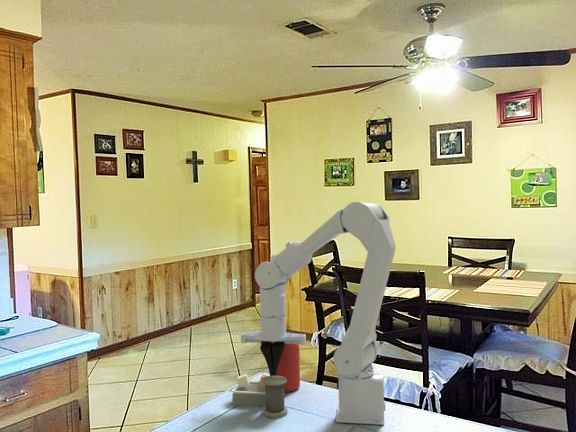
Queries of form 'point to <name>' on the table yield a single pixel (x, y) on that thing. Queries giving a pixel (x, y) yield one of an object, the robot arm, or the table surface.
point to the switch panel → (250, 395)
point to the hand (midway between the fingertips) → (273, 375)
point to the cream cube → (243, 380)
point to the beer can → (290, 367)
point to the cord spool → (274, 396)
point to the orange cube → (261, 380)
